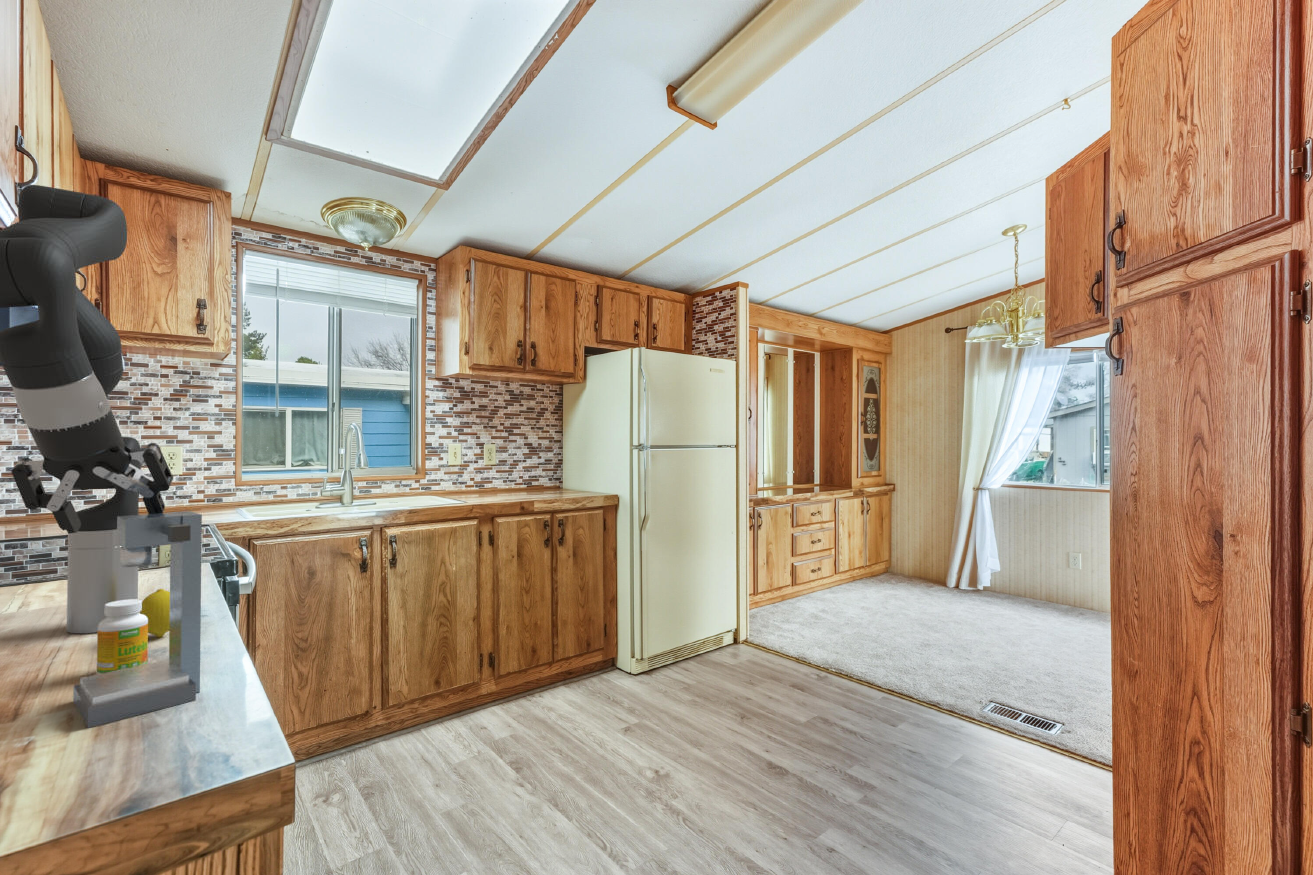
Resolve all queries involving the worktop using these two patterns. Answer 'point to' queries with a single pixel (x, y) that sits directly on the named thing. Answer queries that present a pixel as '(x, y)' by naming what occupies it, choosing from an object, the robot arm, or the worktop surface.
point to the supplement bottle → (122, 636)
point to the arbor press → (181, 672)
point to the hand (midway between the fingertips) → (116, 523)
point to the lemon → (157, 612)
